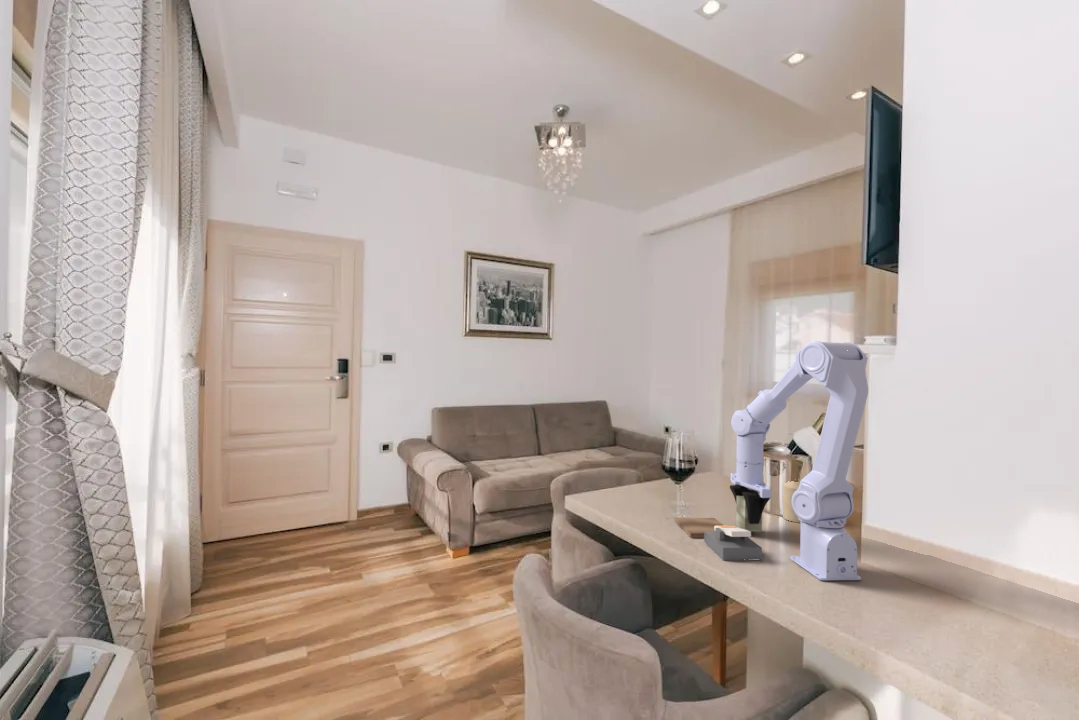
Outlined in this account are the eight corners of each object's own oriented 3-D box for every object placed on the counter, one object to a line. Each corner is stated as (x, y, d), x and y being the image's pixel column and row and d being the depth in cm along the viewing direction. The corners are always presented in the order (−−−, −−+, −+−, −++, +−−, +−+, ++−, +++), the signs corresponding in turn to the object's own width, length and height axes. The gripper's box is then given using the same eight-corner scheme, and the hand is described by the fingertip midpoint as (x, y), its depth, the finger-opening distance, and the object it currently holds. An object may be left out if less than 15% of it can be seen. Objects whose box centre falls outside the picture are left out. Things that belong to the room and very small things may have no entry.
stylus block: (761, 531, 104) (762, 500, 104) (744, 531, 103) (745, 500, 103) (752, 525, 108) (752, 495, 108) (736, 525, 107) (736, 495, 107)
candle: (805, 524, 112) (806, 484, 112) (780, 519, 115) (781, 480, 115) (808, 518, 116) (808, 480, 116) (784, 514, 119) (784, 476, 119)
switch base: (761, 560, 91) (762, 537, 91) (723, 560, 90) (723, 537, 90) (739, 542, 100) (739, 521, 100) (704, 542, 99) (704, 521, 99)
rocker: (751, 536, 91) (750, 531, 91) (731, 536, 91) (731, 531, 91) (732, 530, 99) (731, 525, 99) (714, 530, 99) (714, 525, 99)
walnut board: (733, 537, 102) (733, 533, 102) (690, 537, 102) (690, 533, 102) (714, 522, 112) (714, 518, 112) (675, 522, 112) (675, 518, 112)
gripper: (718, 455, 113) (718, 509, 113) (749, 469, 98) (748, 531, 98) (746, 455, 113) (745, 509, 113) (780, 469, 99) (779, 531, 98)
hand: (748, 519), depth 106 cm, fingers closed on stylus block, 4 cm apart
